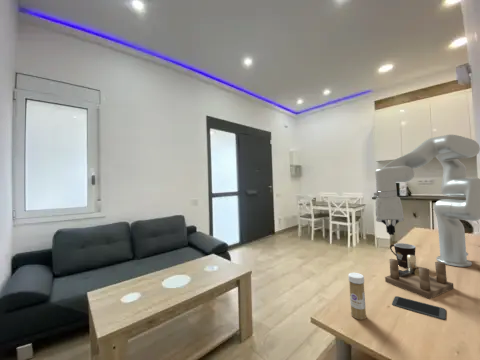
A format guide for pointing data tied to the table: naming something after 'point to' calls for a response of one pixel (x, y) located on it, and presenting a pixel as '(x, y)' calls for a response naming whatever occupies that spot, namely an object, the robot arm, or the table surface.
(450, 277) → the table surface
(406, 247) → the coffee mug
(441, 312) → the cell phone
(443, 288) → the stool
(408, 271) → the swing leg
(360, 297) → the sprinkles bottle
